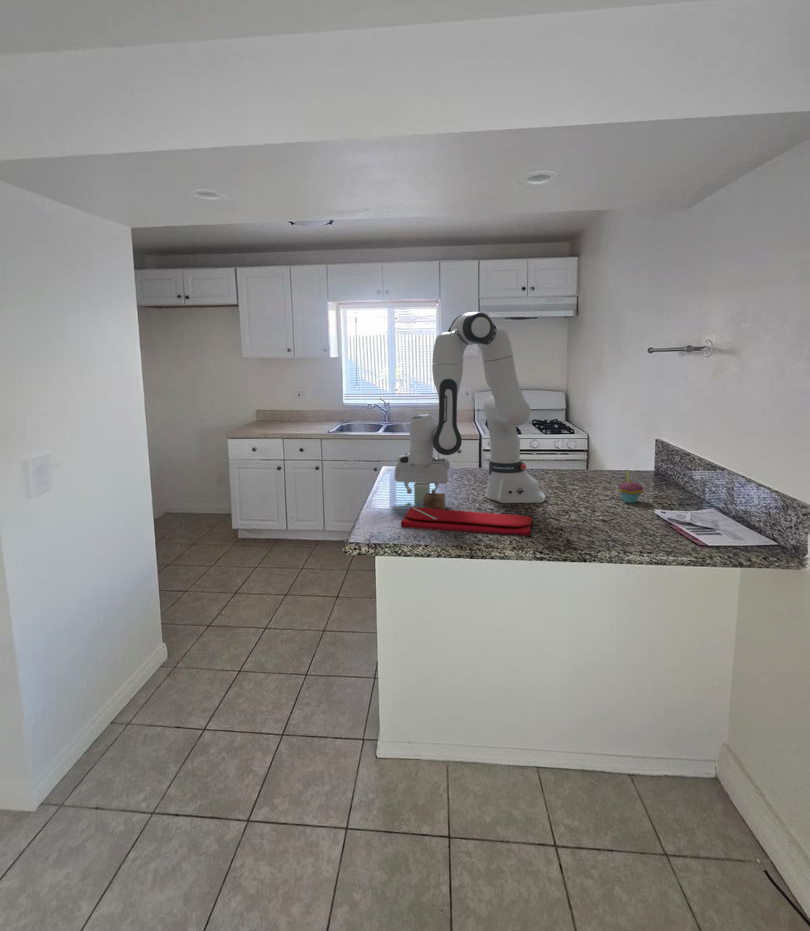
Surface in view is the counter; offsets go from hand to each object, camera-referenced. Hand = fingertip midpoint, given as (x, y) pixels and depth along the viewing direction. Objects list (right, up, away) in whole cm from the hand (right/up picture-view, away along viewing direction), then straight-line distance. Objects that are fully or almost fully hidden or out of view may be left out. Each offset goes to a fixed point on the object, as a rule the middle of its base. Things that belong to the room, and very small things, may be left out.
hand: (421, 493), depth 208 cm
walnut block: (+4, -5, -9) cm, 11 cm away
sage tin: (0, -3, +1) cm, 3 cm away
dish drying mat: (+14, -9, -26) cm, 31 cm away
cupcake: (+77, -3, -3) cm, 77 cm away
